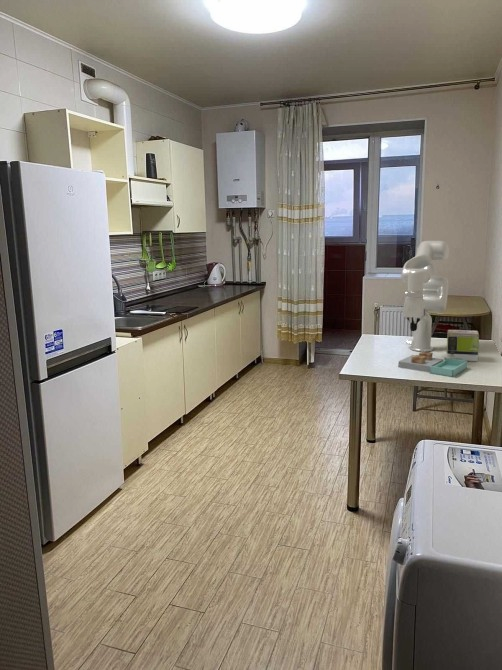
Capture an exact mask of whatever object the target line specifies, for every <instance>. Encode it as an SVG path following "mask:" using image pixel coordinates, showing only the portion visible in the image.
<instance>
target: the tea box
mask: <svg viewBox="0 0 502 670" xmlns="http://www.w3.org/2000/svg"><path fill="white" fill-rule="evenodd" d="M446 336H447V338H446V358H449V359H456V360H463V361H469V362H478V361H479V360H478V359H479V346H480V345H479V344H480V341H479V340H480V334H479V331H478V330H467V329H466V330H463V329H447V335H446Z"/></svg>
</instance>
